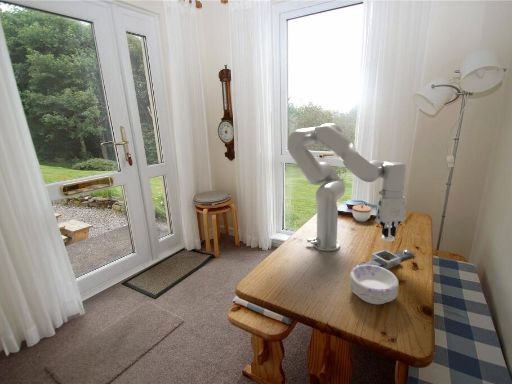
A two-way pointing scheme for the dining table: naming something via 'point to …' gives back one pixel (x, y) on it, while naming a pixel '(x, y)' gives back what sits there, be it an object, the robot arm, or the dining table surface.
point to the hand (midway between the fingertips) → (388, 235)
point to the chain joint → (394, 258)
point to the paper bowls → (374, 284)
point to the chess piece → (389, 238)
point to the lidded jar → (361, 212)
